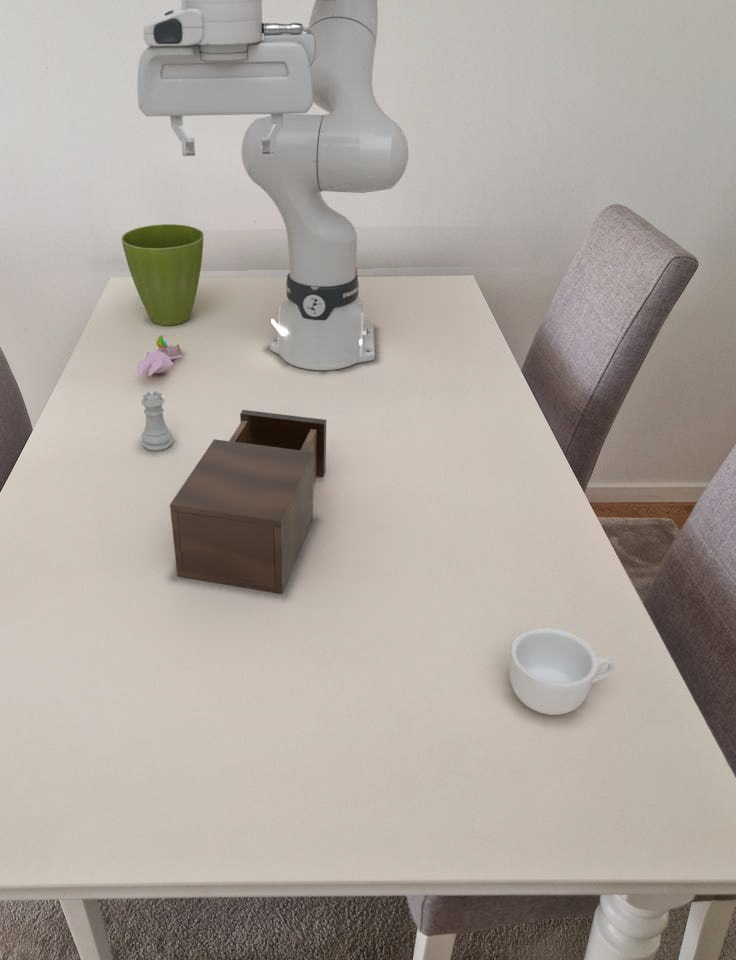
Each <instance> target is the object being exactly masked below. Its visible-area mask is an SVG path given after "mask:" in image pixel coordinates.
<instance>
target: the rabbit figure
mask: <svg viewBox="0 0 736 960" xmlns="http://www.w3.org/2000/svg"><path fill="white" fill-rule="evenodd" d="M156 346H157V347H158V349H157V350H154V351H151V352H147V353H146V356H145V358H144V360H141V361H140V362H138V364H137V365H136V366H137V368H136V369H137V373H138V375H139V376H142V375H143V374H145V372H146V371H148V376H149V377H150V376H152V375H153V374H160V373H164V372H165V371H168V370H170V369H171V368H173V366H174V362H173V360H176V359H181V358H182V357H183V355H182V354H181V353H182V349H181V346H180V343H178V344H176V345H175V346H174V345H171V344H170V345H169V344H167V342H166V341H165V339H164V336H163V335H162V334H161V335H160V336H158V337H157V339H156ZM180 352H181V353H180Z"/></svg>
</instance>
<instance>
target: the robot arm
mask: <svg viewBox="0 0 736 960" xmlns="http://www.w3.org/2000/svg"><path fill="white" fill-rule="evenodd" d="M180 1H181V6H180V8H179V9H175V10H173V9H172V10H169V11H167V12H165V13H164V14H162V15H160V16H158V17H154V18H152V19H150V20H147V22H146V23H144V25H143V28H142V36H143V40H144V43H145V44H146V45H148V46H146V48H144V50H142V53H141V55H140V57H139V60H138V64H137V65H138V66H137V83H136V85H137V106H138V109H139V110H140V112H141V113H142V114H143V115H144V116H145V117H170V119H169V120H170V128H171V129H172V130H173V132H174V133H175V135H176V137H177V138H178V140H179V141H180V142H181V150H182V151H181V152H182V157H195V156H196V147H195V145H196V141H195V140H196V139H195V137H188V136H187V134H186V132H185V130H184V129H183V127H182V126H183V125H184V120H185V118H184V117H190V116H193V117H194V116H240V115H245V116H246V115H249V116H250V115H268V116H263V117H260V118H256V119H254V120H253V121H252V122H251V123H250V125H249V126H248V127H247V128H246V131H245V133H244V135H243V139H242V141H241V151H240V153H241V161H242V165H243V168H244V170H245V172H246V173H247V175H248V177H249V179H250V180H251V181H252V182H253V183H254V184H256V185H257V186H258V187H259V188H261V190H263V191H264V192H265V193H266V194H267V196H269V198H270V199H271V200H272V202H273V203H274V205H275V206H276V208H277V210H278V212H279V214H280V216H281V219H282V220H283V224H284V227H285V231H286V238H287V248H288V274H287V275H286V283H285V289H286V297H287V298H286V299H285V301H282V303H281V304H280V305H279V307H278V320H277V322H276V321H275V319H274V318H271V324H272V325H273V326H274V328H275V329H276V331H277V337H276V338H274V339H273V340H272V341H271V342H270V343H269V347H268V348H269V350H270V351H271V352H273V353H275V354H277V355H279V356H280V358H281V359H282V360H283V361H285V362H286V363H288V364H290V365H291V366H293V367H297V368H299V369H305V370H312V371H333V370H340V369H344V368H348V367H352V366H353V365H356V364H359V363H366V362H367V363H368V362H372V361H374V360H375V359H376V349H375V347H376V346H375V325H374V323H373V322H372V321H370V320H366V319H365V313H364V311H363V309H364V305H363V304H364V302H363V300H362V299H361V298H360V296H359V288H360V282H359V277H358V266H357V249H358V248H357V245H358V235H357V234H358V233H357V231H356V229H355V226H354V225H353V223H352V222H351V221H350V220H349V219H348V217H346V216H345V215H343V214H342V213H340V212H339V211H336V210H334V209H333V208H332V207H330V206H329V205H328V203H327V202H326V201H325V200H324V197H323V196H322V192H332V193H350V194H351V193H355V194H366V193H373V192H379V191H384V190H385V191H386V190H390V189H392V188H394V187H395V186H396V185H397V184H398V183H399V182H400V180H401V179H402V177H403V176H404V174H405V171H406V169H407V166H408V162H409V155H410V154H409V153H410V151H409V144H408V140H407V138H406V135H405V133H404V131H403V129H402V128H401V126H400V125H399V124H398V123H397V122H396V121H394V120H393V119H392V118H390V117H389V116H388V115H387V114H386V113H385V111H383V109H382V108H381V106H380V105H379V104H378V102H377V100H376V98H375V94H374V89H373V73H374V60H375V54H376V49H377V47H376V46H377V38H378V28H379V27H378V26H379V22H378V21H379V16H378V15H379V9H378V0H315V1H314V4H313V7H312V10H311V14H310V19H309V22H308V27H305V26H303V24H302V23H300V22H291V23H287V24H286V23H278V22H277V23H275V22H273V23H271V22H270V23H267V22H266V23H263V2H262V0H180ZM303 32H305V33H303ZM314 104H315V105H316V106H317V107H318V108H320V109H322V110H324V111H325V112H327V114H307V113H308V112H309V111H310V110H311V109H312V107H313V105H314Z"/></svg>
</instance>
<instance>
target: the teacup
mask: <svg viewBox="0 0 736 960" xmlns="http://www.w3.org/2000/svg"><path fill="white" fill-rule="evenodd" d="M602 665H608V667H607V669H605V670H604V671H603V672H601V673H598V674H597V671H598V669H599V668H600V667H601V666H602ZM508 669H509V680H510V684H511V687H512V690H513V692H514V694H515V695H516V697H517V698H518V699H519V700H520V702H522V703H523V704H524V705H525V706H526V707H527V708H529V709H531V710H533V711H535V712H537V713H540V714H544V715H549V716H559V715H565V714H568V713H570V712H573V711H574V710H576V709H577V708H579V707H580V706H581V705H582V703H583V702H584V700H585V699H586V697H587V696H588V694H589V692H590V690H591V688H592V686H593V684H596V683H598V682H600V681H603V680H604V679H607V678H608V677H610V676H611V675H612V674H613V672H614V670H615V665H614V663H613V661H612V660H611V659H610V658H608V657H604V656H603V657H602V656H601V657H600V656H599V657H598V656H597V654H596V652H595V650H594V648H592V646H591V645H590V644H589V643H588V642H587V641H585V640H584V639H582V638H581V637H580V636H578V635H576V634H574V633H572V632H569V631H566V630H563V629H559V628H553V627H538V628H532V629H528V630H526V631H524V632H522V633H520V634H519V635H518V636H517V637H516V638H515V639H514V641H513V642H512V644H511V650H510V656H509V668H508Z"/></svg>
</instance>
